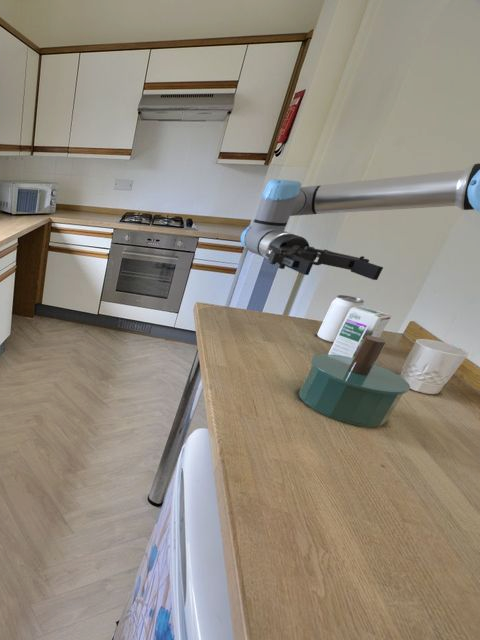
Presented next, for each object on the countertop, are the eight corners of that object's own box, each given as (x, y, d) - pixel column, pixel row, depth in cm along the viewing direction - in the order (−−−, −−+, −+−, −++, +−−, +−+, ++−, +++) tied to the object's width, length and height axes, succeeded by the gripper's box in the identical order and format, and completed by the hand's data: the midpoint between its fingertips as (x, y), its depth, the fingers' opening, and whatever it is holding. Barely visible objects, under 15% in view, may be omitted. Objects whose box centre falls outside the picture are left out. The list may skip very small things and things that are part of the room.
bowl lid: (403, 377, 81) (425, 339, 77) (410, 407, 70) (436, 366, 67) (312, 352, 89) (328, 317, 85) (306, 376, 79) (324, 338, 75)
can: (325, 342, 112) (345, 301, 106) (311, 333, 117) (329, 293, 112) (351, 345, 111) (372, 303, 106) (336, 335, 117) (355, 295, 111)
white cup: (393, 373, 97) (416, 335, 92) (441, 387, 92) (467, 347, 87) (392, 385, 92) (415, 345, 87) (442, 400, 87) (470, 359, 82)
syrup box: (322, 362, 101) (349, 307, 94) (336, 358, 103) (363, 304, 96) (349, 373, 96) (379, 316, 90) (363, 369, 98) (393, 313, 92)
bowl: (383, 406, 83) (401, 374, 80) (386, 436, 74) (407, 402, 71) (302, 381, 91) (316, 351, 88) (295, 405, 82) (310, 373, 79)
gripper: (329, 266, 105) (398, 293, 86) (228, 259, 107) (274, 283, 88) (342, 237, 102) (417, 257, 83) (238, 230, 104) (287, 248, 85)
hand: (343, 271), depth 85 cm, fingers open, 13 cm apart
